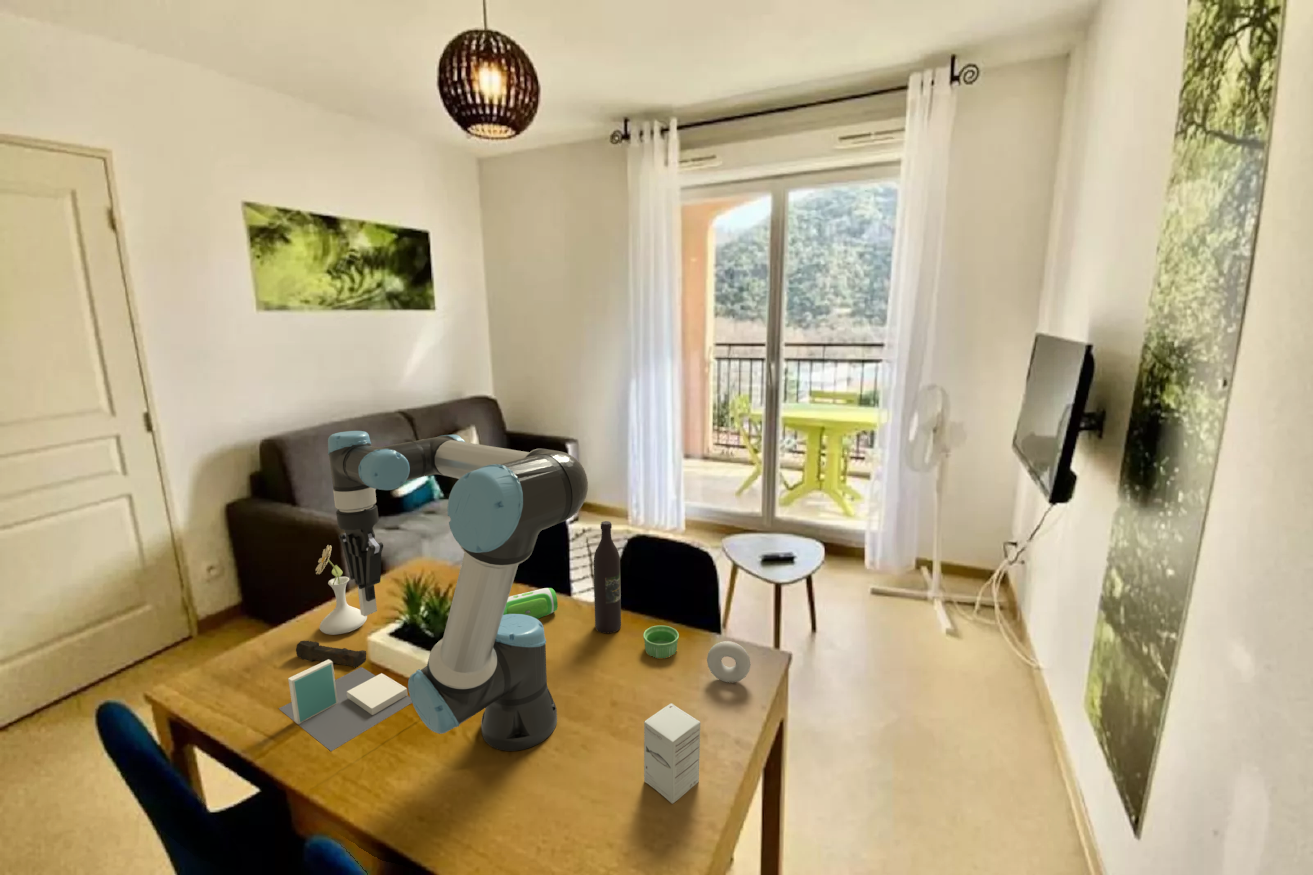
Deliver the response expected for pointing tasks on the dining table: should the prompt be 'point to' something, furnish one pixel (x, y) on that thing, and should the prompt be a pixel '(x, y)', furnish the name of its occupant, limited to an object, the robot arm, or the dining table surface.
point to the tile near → (313, 691)
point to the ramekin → (661, 641)
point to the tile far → (377, 693)
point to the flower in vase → (339, 602)
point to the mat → (345, 713)
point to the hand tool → (329, 654)
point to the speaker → (533, 603)
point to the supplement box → (671, 752)
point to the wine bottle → (607, 583)
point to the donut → (734, 652)
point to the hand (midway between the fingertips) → (369, 612)
